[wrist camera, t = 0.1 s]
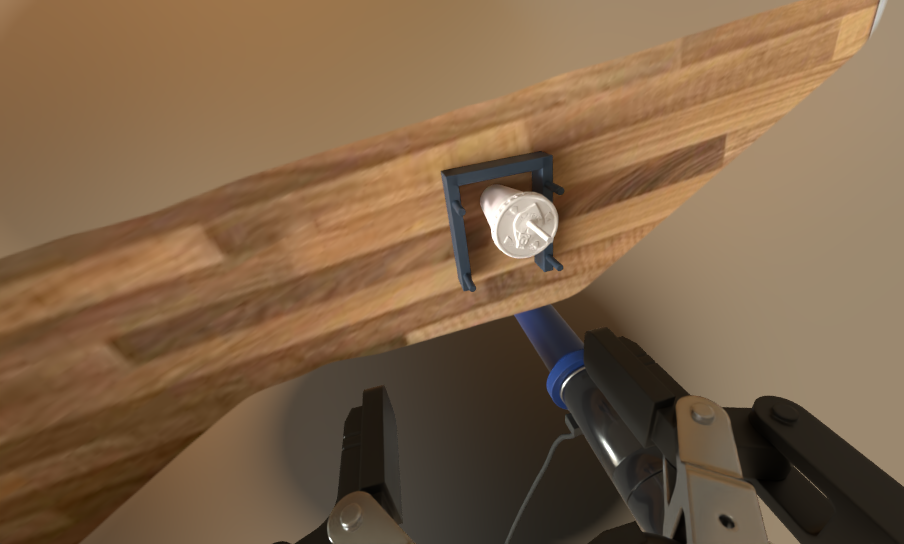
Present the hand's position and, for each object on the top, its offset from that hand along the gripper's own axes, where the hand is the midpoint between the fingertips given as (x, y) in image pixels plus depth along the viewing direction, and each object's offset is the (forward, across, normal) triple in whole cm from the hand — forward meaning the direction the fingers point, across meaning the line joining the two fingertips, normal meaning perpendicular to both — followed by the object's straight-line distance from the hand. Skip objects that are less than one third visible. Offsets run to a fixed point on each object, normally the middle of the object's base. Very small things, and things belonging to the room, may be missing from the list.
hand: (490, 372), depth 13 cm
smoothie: (+28, +9, -3) cm, 30 cm away
